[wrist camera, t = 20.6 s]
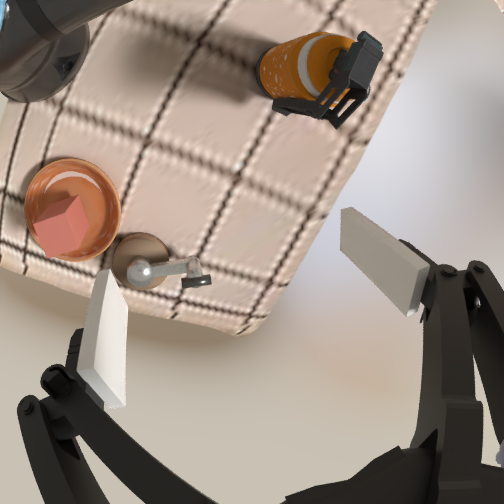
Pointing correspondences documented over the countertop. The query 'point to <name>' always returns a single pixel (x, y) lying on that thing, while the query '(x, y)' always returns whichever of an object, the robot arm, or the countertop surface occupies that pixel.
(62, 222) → the block
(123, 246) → the hub plate
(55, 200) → the saucer
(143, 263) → the crank
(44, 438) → the robot arm
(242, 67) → the countertop surface
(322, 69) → the canister
